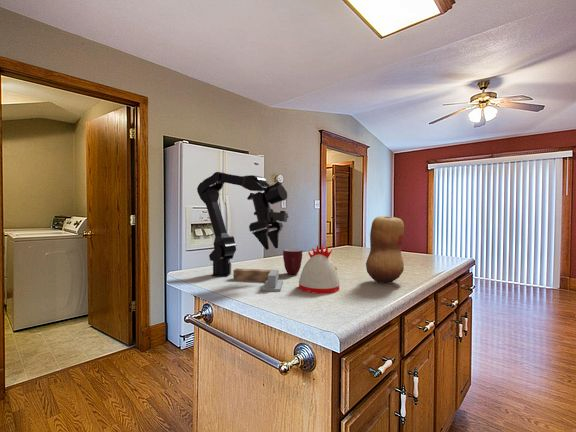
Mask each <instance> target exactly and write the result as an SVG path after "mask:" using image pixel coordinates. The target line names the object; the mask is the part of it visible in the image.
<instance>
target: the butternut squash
mask: <svg viewBox="0 0 576 432" xmlns="http://www.w3.org/2000/svg"><path fill="white" fill-rule="evenodd" d="M369 236H370V237H369V242H370V243H369V245H370V251H369V254H368V257H367V259H366V262H365V269H366V271H367V272H366V273H367V274H368V275H369V277H370V278H371V279H372V280H373V281H375V282H376V283H379V284H388V283H389V284H390V283H393V282H394V281H396V280H398V279H399V278H400V276H402V274H403V272H404V268H405V266H404V263H405V262H404V259H403V256H402V255H403V254H402V247H403V242H404V238H405V224H404V221H403V220H402V219H401V218H398V217H394V216H393V217H392V216H389V215H388V216H387V215H381V216H379V215H378V216H376V217H375V218H374V219H373V220H372V222H371V227H370V232H369Z"/></svg>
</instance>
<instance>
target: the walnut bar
mask: <svg viewBox="0 0 576 432" xmlns="http://www.w3.org/2000/svg"><path fill="white" fill-rule="evenodd" d="M271 270H272V269H263V268H262V269H261V268H260V269H259V268H257V269H255V268H235V269H233V271H232V272H233V280H232V281H245V282H246V281H250V282H251V281H252V282H266V281H267V280H268V274H269V273H270V271H271Z"/></svg>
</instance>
